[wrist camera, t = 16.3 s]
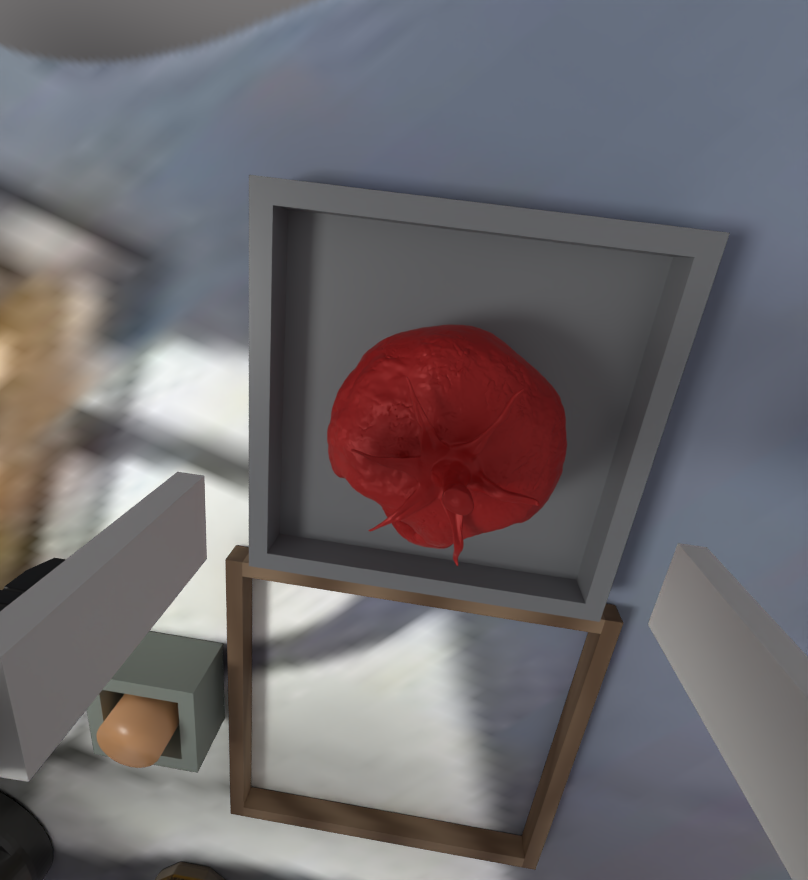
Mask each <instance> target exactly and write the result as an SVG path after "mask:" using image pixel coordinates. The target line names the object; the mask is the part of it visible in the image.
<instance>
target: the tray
mask: <svg viewBox="0 0 808 880" xmlns="http://www.w3.org/2000/svg"><path fill="white" fill-rule="evenodd" d="M729 234H730V233H726V232H718V231H710V230H702V229H693V228H685V227H677V226H668V225H660V224H652V223H644V222H635V221H627V220H619V219H611V218H602V217H594V216H586V215H577V214H569V213H561V212H553V211H544V210H536V209H528V208H519V207H511V206H503V205H495V204H486V203H478V202H470V201H462V200H453V199H445V198H437V197H428V196H420V195H412V194H404V193H395V192H387V191H379V190H370V189H362V188H354V187H346V186H337V185H329V184H321V183H313V182H304V181H296V180H288V179H279V178H271V177H263V176H255V175H249V566H251V567H258V568H264V569H270V570H277V571H283V572H289V573H295V574H302V575H308V576H314V577H320V578H327V579H333V580H339V581H346V582H352V583H358V584H364V585H371V586H377V587H383V588H390V589H396V590H402V591H408V592H415V593H421V594H427V595H433V596H440V597H446V598H452V599H459V600H465V601H471V602H477V603H484V604H490V605H496V606H503V607H509V608H515V609H521V610H528V611H534V612H540V613H547V614H553V615H559V616H565V617H572V618H578V619H584V620H590V621H597V622H600V620H601V617H602V614H603V611H604V608H605V605H606V602H607V599H608V596H609V593H610V590H611V587H612V584H613V581H614V578H615V575H616V572H617V569H618V566H619V563H620V560H621V557H622V554H623V551H624V548H625V545H626V542H627V539H628V536H629V533H630V530H631V527H632V524H633V521H634V518H635V515H636V512H637V509H638V506H639V503H640V500H641V497H642V494H643V491H644V488H645V485H646V482H647V479H648V476H649V473H650V470H651V467H652V464H653V461H654V458H655V455H656V452H657V449H658V446H659V443H660V440H661V437H662V434H663V431H664V428H665V425H666V422H667V419H668V416H669V413H670V410H671V407H672V404H673V401H674V398H675V395H676V392H677V389H678V386H679V383H680V380H681V377H682V374H683V371H684V368H685V365H686V362H687V359H688V356H689V353H690V350H691V347H692V344H693V341H694V338H695V335H696V332H697V329H698V326H699V323H700V320H701V317H702V314H703V311H704V308H705V305H706V302H707V299H708V296H709V293H710V290H711V287H712V284H713V281H714V278H715V276H716V273H717V270H718V267H719V264H720V261H721V258H722V255H723V252H724V249H725V246H726V243H727V240H728V237H729ZM439 325H467V326H474V327H477V328H481V329H483V330H485V331H488V332H491V333H492V334H494V335H495V336H496V337H498V338H500V339H501V340H502V341H504V342H505V343H506V344H507V345H508V346H509V347H511V348H512V349H513V350H514V351H515V352H516V353H517V354H519V355H520V356H521V357H523V358H524V359H525V360H526V361H527V362H528V363H529V364H530V365H532V366H533V367H534V368H535V369H537V371H538V372H539V373H540V374H541V375H542V376H543V377H545V378H546V380H547V381H548V382H549V383H550V384H551V385H552V386H553V387H554V389H555V390H556V392H557V393H558V395H559V396H560V398H561V403H562V405H563V407H564V411H565V416H566V439H567V450H566V456H565V461H564V463H563V471H562V474H561V476H560V478H559V481H558V483H557V485H556V487H555V489H554V491H553V492H552V494H551V496H550V498H549V500H548V501H547V502H546V503H545V505H544V506H543V507H542V508H541V509H540V510H539V511H538V512H537V513H536V514H535V515H534V516H532V517H531V518H530V519H529V520H527V521H525V522H523V523H516V524H513V525H510V526H508V527H506V528H504V529H500V530H495V531H492V532H487V533H482V534H480V535H475V536H473V537H469V538H466V539H464V540H463V542H464V547H463V550H462V552H461V553H460V554H459V556H458V566H457V565H456V564H455V562H454V560H453V552H454V544H453V545H451V546H450V547H448V548H445V549H436V548H428V547H422V546H419V545H416V544H413V543H411V542H409V541H407V540H406V539H405V538H403V537H402V536H401V535H400V534H399V533H398V532H397V531H396V529H395V528H394V527H393V525H392V523H391V524H388V525H386V526H383V527H380V528H378V529H376V530H374V531H371V532H370V531H368V530H370V529H372V528H374V527H375V526H377V525H378V524H380V523H381V522H383V521H384V520H385V519H386V518H387V516H386V515H385V512H384V510H383V509H382V507H381V505H379V504H378V503H377V502H375V501H374V500H372V499H369V498H367V497H365V496H363V495H362V494H360V493H359V492H357V491H356V490H355V489H353V488H352V486H351V485H350V484H349V482H348V481H347V480H346V479H345V478H340V477H338V476H337V475H336V474H335V473H334V471H333V469H332V466H331V462H330V460H329V454H328V443H327V430H328V426H329V424H330V420H331V411H332V407H333V404H334V401H335V398H336V396H337V393H338V391H339V389H340V387H341V386H342V384H343V382H344V381H345V379H346V378H347V377H348V375H349V374H350V373H351V372H352V371H353V370H354V369H355V368H356V366H357V365H358V363H359V361H360V360H361V358H362V356H363V355H364V354H365V353H366V352H367V351H368V350H369V349H371V348H372V347H373V346H374V345H376V344H377V343H378V342H380V341H381V340H383V339H385V338H387V337H390V336H392V335H394V334H397V333H400V332H405V331H409V330H414V329H418V328H422V327H432V326H439Z"/></svg>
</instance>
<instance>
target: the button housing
mask: <svg viewBox="0 0 808 880" xmlns="http://www.w3.org/2000/svg"><path fill="white" fill-rule="evenodd" d="M124 694H130V695H135V696H141V697H147V698H153V699H158V700H164V701H170V702H176V703H178V712H179V725H178V727H177V729H176V730H175V732H174V734H173V736H172V737H171V739H170V741H169V742H168V744H167V746H166V747H165V749H164V751H163V753H162V754H161V756H160V758H159V759H158V761H157V762H156V763H154V764H153V765H158V766H163V767H169V768H174V769H180V770H185V771H191V772H196V773H198V771H199V769H200V767H201V765H202V763H203V761H204V759H205V757H206V755H207V753H208V751H209V749H210V747H211V745H212V743H213V741H214V739H215V737H216V735H217V733H218V731H219V729H220V727H221V724H222V722H223V720H224V718H225V710H224V669H223V644H222V643H216V642H210V641H204V640H199V639H193V638H187V637H181V636H175V635H169V634H163V633H157V632H151V631H149V632H148V633H147V634H146V636H145V637H144V638H143V639H142V641H141V642H140V643H139V644H138V646H137V647H136V648H135V649H134V651H133V652H132V653H131V654H130V656H129V657H128V658H127V659H126V661H125V662H124V663H123V664H122V666H121V667H120V668H119V669H118V671H117V672H116V673H115V674H114V676H113V677H112V678H111V680H110V681H109V682H108V683H107V685H106V686H105V687H104V688H103V690H102V691H101V692H100V693H99V695H98V696H97V697H96V698H95V700H94V701H93V702H92V703H91V705H90V706H89V707H88V708H87V714H88V720H89V726H90V732H91V738H92V744H93V750H94V754H97V755H102V756H107V755H106V754H105V753H104V752H103V751H102V749H101V748H100V746H99V744H98V742H97V736H96V735H97V731H98V729H99V727H100V726H101V725H102V723H103V722H104V721H105V719H106V718H107V717H108V715H109V714H110V713H111V711H112V710H113V709H114V707H115V706H116V705H117V703H118V702H119V701H120V699H121V698H122V697H123V695H124ZM108 757H109V756H108Z"/></svg>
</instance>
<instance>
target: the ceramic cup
mask: <svg viewBox="0 0 808 880" xmlns="http://www.w3.org/2000/svg"><path fill="white" fill-rule="evenodd" d="M155 880H225V879H224V878H223V877H221V876H220V875H219V874H217V873H216V872H215V871H214V870H212V869H211V868H210V867H205V866H200V865H195V864H190V863H185V862H179V863H177V864H174V865H172V866H170V867H168V868H166V869H163V870H162V871H161V872H160V873H159V874H158V876H157V877H156V879H155Z"/></svg>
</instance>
